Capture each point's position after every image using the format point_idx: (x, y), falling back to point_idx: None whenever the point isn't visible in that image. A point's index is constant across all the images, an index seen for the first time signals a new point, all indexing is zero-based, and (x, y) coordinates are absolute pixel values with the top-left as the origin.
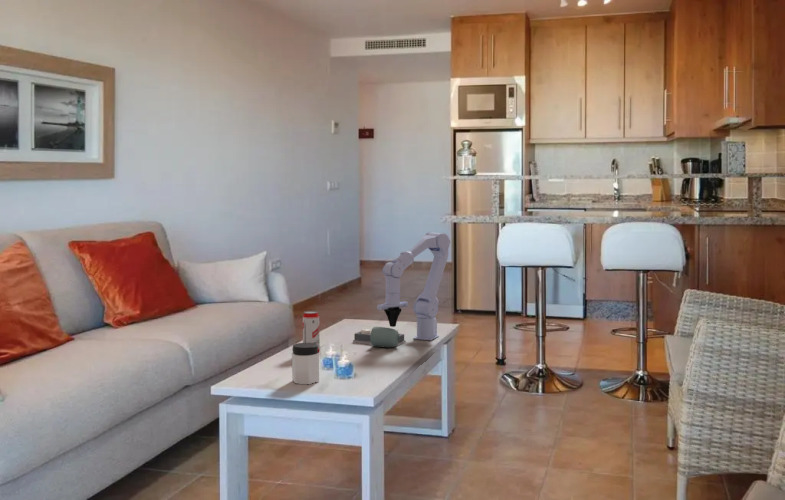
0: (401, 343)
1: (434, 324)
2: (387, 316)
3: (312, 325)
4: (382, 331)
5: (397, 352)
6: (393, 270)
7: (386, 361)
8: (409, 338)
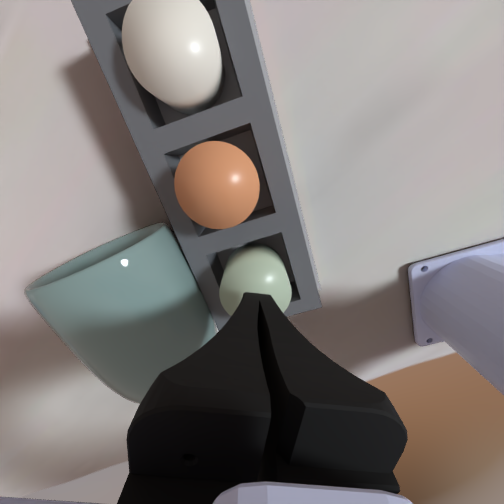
0: None
1: None
2: (213, 340)
3: None
4: (80, 360)
5: None
6: None
7: (19, 428)
8: (418, 235)
